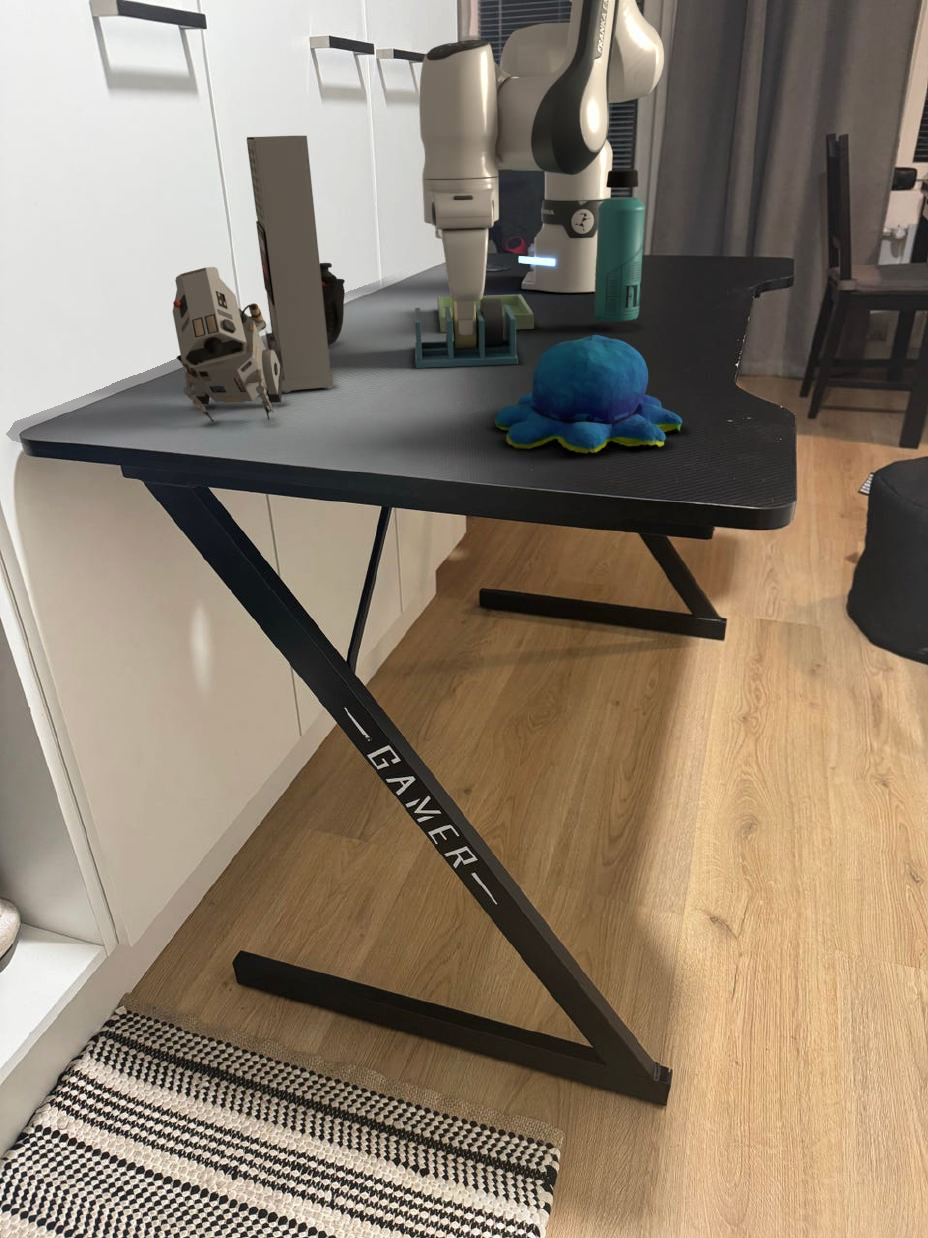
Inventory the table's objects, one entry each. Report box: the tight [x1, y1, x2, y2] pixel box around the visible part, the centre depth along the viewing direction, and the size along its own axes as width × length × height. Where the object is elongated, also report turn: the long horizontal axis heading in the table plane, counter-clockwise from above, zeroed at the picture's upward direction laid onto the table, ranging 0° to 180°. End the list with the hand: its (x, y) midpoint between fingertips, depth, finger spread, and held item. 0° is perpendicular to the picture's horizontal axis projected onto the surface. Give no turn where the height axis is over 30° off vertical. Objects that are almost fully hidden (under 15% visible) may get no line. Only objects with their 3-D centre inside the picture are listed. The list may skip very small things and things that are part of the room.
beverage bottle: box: [592, 168, 646, 322], centre depth 120 cm, size 6×7×20 cm
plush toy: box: [494, 334, 683, 454], centre depth 82 cm, size 17×17×8 cm
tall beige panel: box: [246, 135, 334, 394], centre depth 98 cm, size 14×6×25 cm, turn 15°
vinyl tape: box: [480, 298, 504, 347], centre depth 110 cm, size 6×2×6 cm, turn 4°
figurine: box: [172, 266, 283, 422], centre depth 87 cm, size 9×12×15 cm
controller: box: [320, 262, 346, 346], centre depth 117 cm, size 4×12×10 cm, turn 163°
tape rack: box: [414, 305, 519, 369], centre depth 110 cm, size 11×12×5 cm
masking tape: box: [452, 300, 476, 349], centre depth 110 cm, size 6×3×6 cm, turn 3°
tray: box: [437, 293, 535, 333], centre depth 132 cm, size 17×13×2 cm
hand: (464, 327), depth 110 cm, fingers closed on masking tape, 6 cm apart
